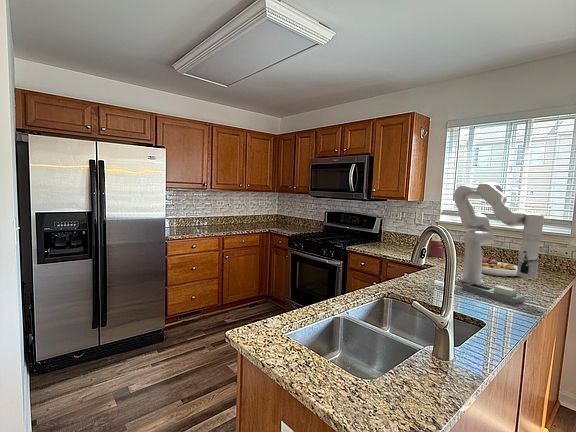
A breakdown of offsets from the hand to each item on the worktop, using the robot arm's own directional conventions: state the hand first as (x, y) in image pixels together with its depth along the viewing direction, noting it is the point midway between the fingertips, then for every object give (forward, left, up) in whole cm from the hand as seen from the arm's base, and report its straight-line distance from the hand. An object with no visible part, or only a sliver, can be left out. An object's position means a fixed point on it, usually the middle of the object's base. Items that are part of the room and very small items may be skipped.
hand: (527, 272), depth 162 cm
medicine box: (0, 0, -3) cm, 3 cm away
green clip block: (+12, -4, -14) cm, 19 cm away
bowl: (-48, -39, -15) cm, 64 cm away
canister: (-57, -92, -14) cm, 109 cm away
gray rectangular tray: (+12, -10, -14) cm, 21 cm away
